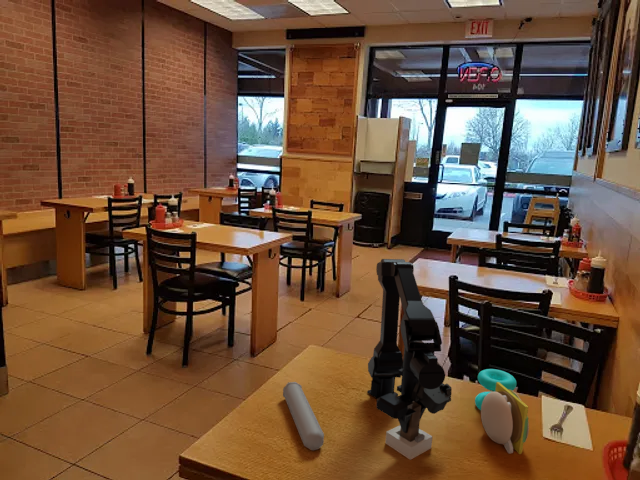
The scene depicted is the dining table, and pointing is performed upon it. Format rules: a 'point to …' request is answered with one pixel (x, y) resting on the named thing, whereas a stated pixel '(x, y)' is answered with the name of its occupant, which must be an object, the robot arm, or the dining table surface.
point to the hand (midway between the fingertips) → (409, 430)
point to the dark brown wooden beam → (413, 424)
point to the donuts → (493, 382)
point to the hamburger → (505, 418)
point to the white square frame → (408, 442)
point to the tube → (303, 416)
